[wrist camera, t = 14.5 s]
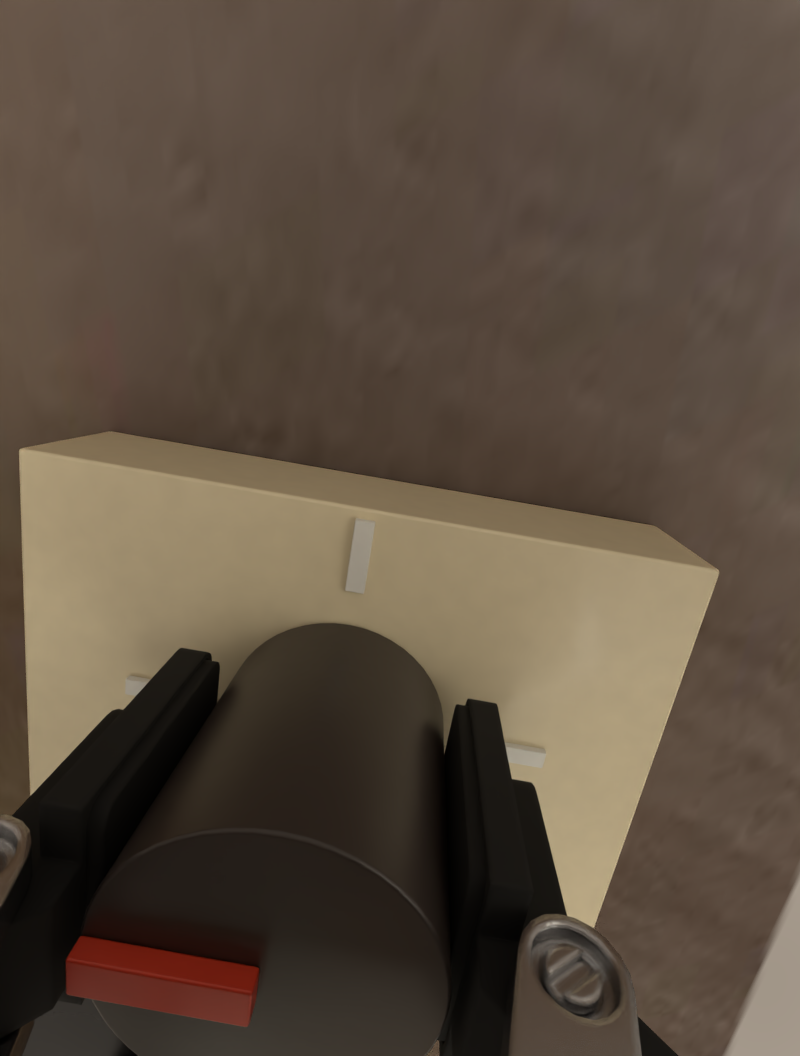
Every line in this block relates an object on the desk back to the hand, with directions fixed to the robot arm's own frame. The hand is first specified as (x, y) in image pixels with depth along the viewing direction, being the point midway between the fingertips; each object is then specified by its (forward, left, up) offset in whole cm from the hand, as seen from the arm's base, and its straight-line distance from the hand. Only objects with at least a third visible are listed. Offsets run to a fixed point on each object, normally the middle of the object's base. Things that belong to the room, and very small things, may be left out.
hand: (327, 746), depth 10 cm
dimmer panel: (0, 0, -4) cm, 4 cm away
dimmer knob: (0, 0, -1) cm, 1 cm away
